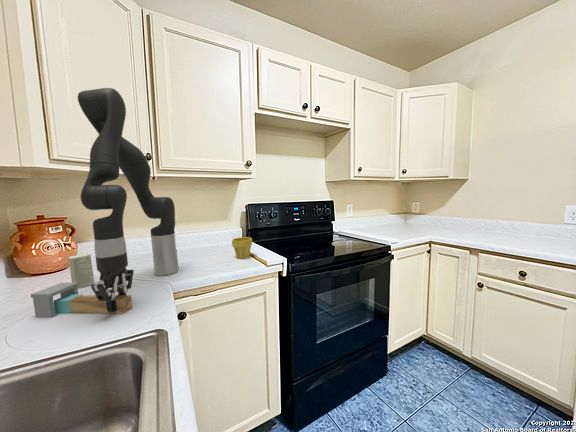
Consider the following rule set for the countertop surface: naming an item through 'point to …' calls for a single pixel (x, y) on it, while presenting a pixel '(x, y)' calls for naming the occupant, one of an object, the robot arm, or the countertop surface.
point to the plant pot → (242, 247)
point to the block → (64, 303)
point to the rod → (99, 304)
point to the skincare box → (81, 270)
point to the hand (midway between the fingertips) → (117, 308)
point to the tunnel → (51, 298)
